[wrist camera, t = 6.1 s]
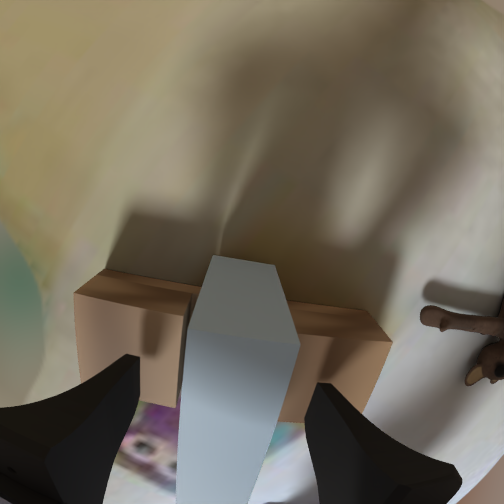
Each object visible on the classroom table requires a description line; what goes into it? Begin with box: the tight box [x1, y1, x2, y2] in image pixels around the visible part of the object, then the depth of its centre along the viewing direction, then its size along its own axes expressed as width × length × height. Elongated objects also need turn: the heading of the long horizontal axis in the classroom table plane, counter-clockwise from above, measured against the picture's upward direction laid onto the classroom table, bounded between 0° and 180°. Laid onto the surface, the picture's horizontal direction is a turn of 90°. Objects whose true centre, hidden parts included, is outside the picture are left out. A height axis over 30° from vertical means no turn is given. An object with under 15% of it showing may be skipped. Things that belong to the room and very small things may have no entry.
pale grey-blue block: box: [176, 255, 301, 504], centre depth 12 cm, size 3×9×7 cm, turn 170°
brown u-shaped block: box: [74, 269, 393, 423], centre depth 15 cm, size 14×5×4 cm, turn 80°
